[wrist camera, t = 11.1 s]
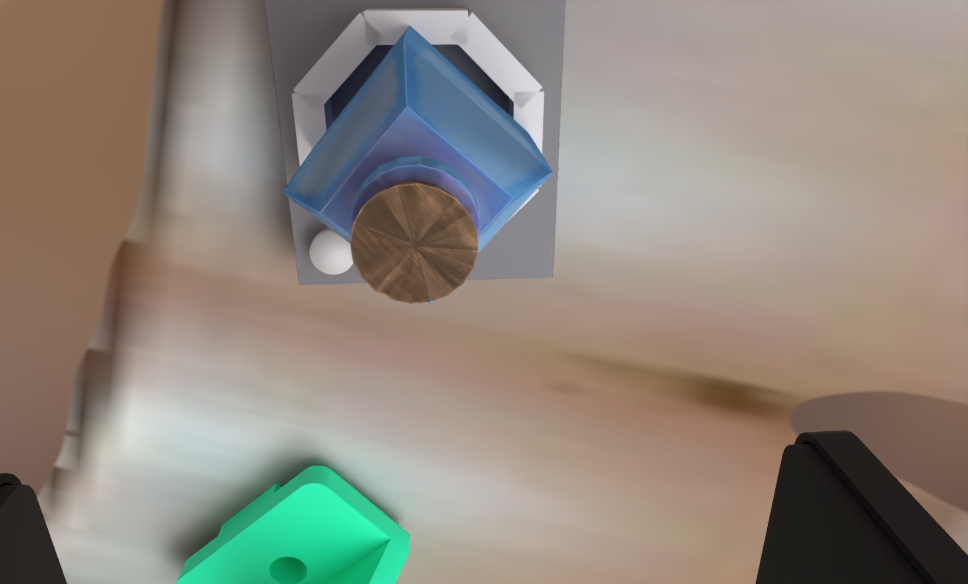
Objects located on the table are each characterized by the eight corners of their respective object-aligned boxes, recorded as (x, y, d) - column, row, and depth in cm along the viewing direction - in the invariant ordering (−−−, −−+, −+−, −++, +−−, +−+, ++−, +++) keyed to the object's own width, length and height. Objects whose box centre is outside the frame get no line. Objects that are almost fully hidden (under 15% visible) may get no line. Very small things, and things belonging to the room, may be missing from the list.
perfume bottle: (528, 132, 28) (590, 231, 17) (431, 242, 30) (430, 395, 19) (409, 25, 26) (394, 59, 15) (312, 148, 28) (235, 260, 17)
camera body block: (543, 254, 36) (560, 295, 31) (309, 260, 35) (291, 303, 30) (555, -46, 30) (577, -50, 25) (274, -47, 29) (245, -51, 25)
